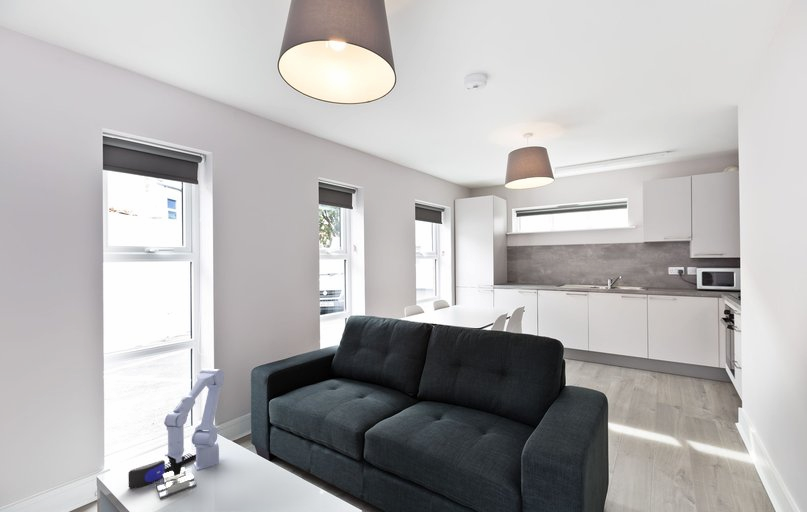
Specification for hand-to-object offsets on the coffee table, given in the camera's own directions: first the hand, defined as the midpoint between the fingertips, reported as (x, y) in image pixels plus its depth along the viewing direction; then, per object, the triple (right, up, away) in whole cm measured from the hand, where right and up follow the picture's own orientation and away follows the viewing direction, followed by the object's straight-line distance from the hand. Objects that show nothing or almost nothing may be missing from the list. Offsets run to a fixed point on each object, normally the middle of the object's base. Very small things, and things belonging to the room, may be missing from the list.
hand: (176, 472), depth 159 cm
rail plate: (0, -6, 0) cm, 6 cm away
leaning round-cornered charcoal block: (-14, -7, +3) cm, 16 cm away
